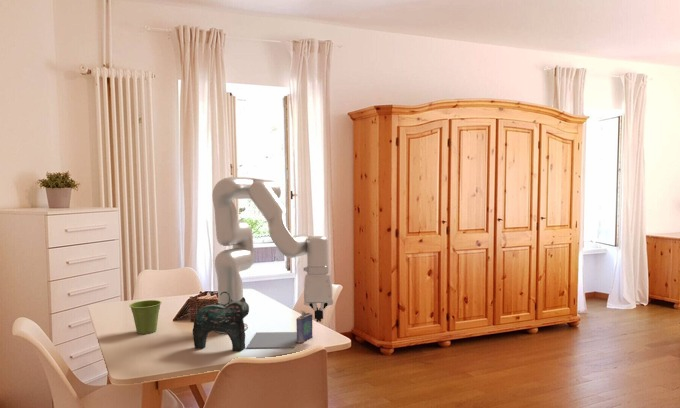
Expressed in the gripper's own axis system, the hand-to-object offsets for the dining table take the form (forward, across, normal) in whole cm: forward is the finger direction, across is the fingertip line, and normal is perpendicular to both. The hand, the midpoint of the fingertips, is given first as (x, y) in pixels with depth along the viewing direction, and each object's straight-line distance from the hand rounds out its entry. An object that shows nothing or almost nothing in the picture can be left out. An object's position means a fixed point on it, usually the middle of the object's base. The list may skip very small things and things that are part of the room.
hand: (318, 320), depth 181 cm
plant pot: (+7, -69, +13) cm, 70 cm away
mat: (+7, -16, 0) cm, 18 cm away
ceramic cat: (+7, -34, -9) cm, 36 cm away
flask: (+7, -5, 0) cm, 9 cm away
